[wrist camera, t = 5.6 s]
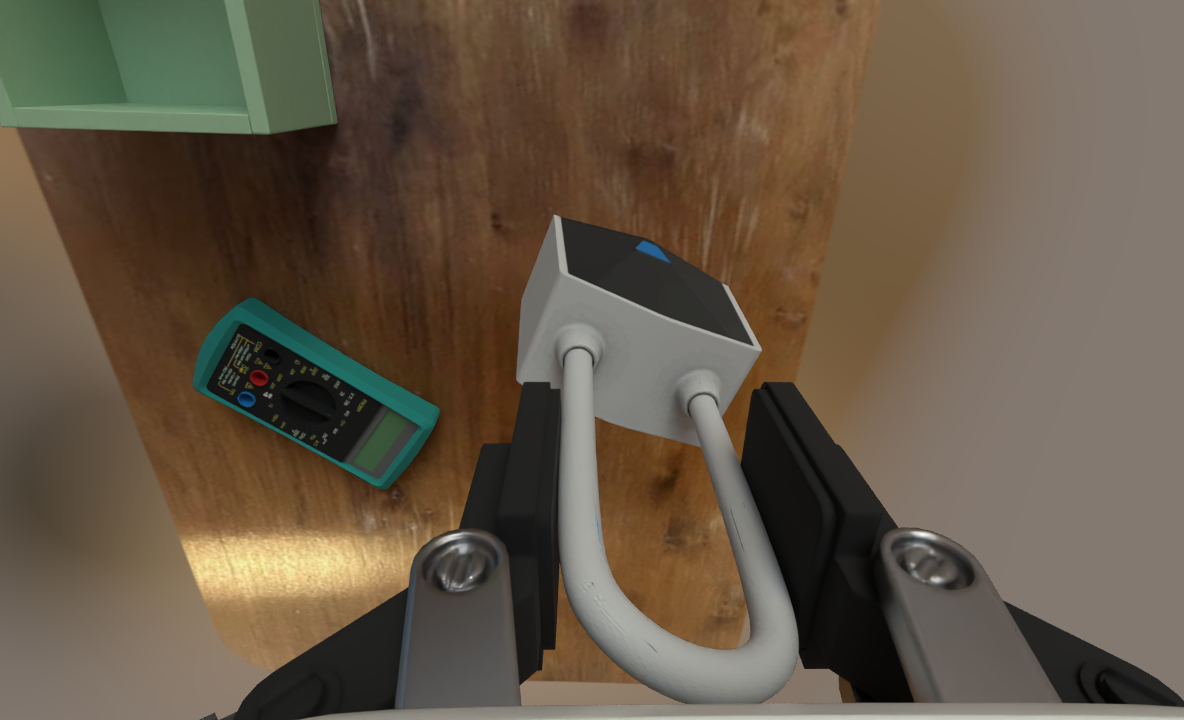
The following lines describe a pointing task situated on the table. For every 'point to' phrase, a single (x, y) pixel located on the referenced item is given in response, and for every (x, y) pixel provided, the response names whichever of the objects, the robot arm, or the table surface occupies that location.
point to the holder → (165, 65)
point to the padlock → (659, 407)
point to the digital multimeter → (312, 393)
